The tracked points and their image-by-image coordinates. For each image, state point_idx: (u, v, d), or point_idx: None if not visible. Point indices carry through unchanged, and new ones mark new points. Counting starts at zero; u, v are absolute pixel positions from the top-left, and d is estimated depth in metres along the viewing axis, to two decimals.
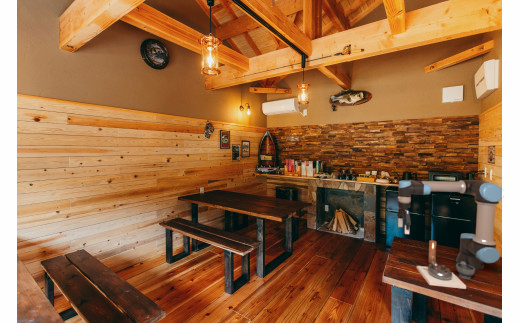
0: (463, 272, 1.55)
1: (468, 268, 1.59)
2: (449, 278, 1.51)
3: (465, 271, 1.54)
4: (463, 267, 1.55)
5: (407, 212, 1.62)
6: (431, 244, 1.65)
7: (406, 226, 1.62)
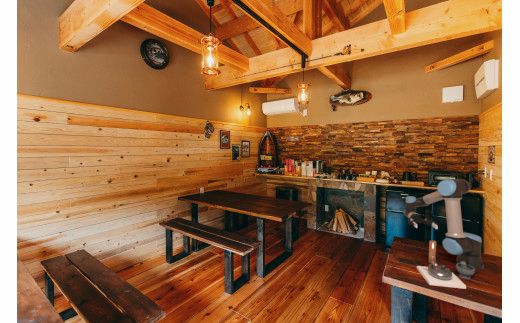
0: (463, 272, 1.55)
1: (468, 268, 1.59)
2: (449, 278, 1.51)
3: (465, 271, 1.54)
4: (463, 267, 1.55)
5: (408, 219, 1.92)
6: (431, 244, 1.65)
7: (412, 224, 1.83)
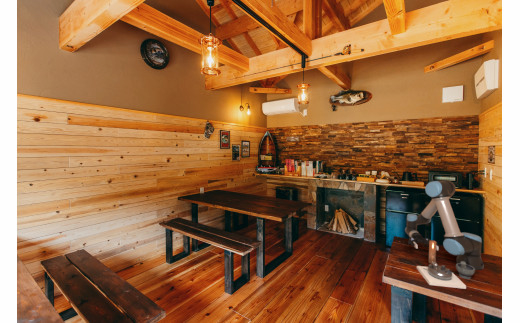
0: (463, 272, 1.55)
1: (468, 268, 1.60)
2: (449, 278, 1.51)
3: (465, 271, 1.54)
4: (463, 267, 1.55)
5: (409, 238, 1.90)
6: (431, 244, 1.65)
7: None
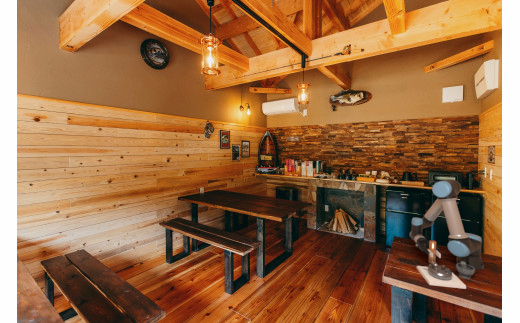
0: (463, 272, 1.55)
1: (468, 268, 1.60)
2: (449, 278, 1.51)
3: (465, 271, 1.54)
4: (463, 267, 1.55)
5: (416, 245, 1.78)
6: (431, 244, 1.65)
7: None
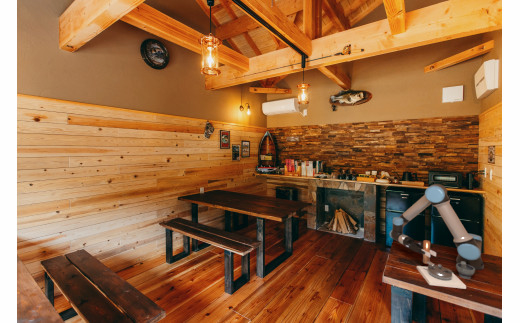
0: (463, 272, 1.55)
1: (468, 268, 1.60)
2: (451, 277, 1.52)
3: (465, 271, 1.54)
4: (463, 267, 1.55)
5: (407, 246, 1.77)
6: (426, 244, 1.65)
7: (421, 252, 1.67)
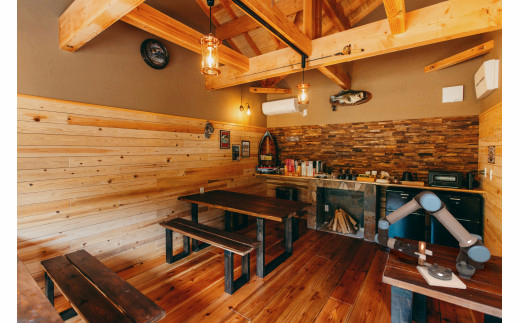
0: (463, 272, 1.55)
1: (468, 268, 1.60)
2: None
3: (465, 271, 1.54)
4: (463, 267, 1.55)
5: (400, 250, 1.71)
6: (423, 246, 1.63)
7: (415, 256, 1.63)
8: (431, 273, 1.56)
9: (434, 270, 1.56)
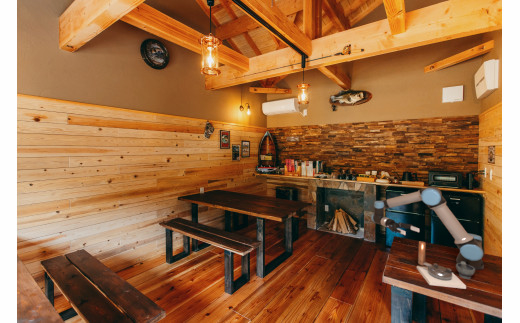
0: (463, 272, 1.55)
1: (468, 268, 1.60)
2: None
3: (465, 271, 1.54)
4: (463, 267, 1.55)
5: (387, 226, 1.83)
6: (423, 246, 1.63)
7: (397, 231, 1.74)
8: (431, 273, 1.56)
9: (434, 270, 1.56)
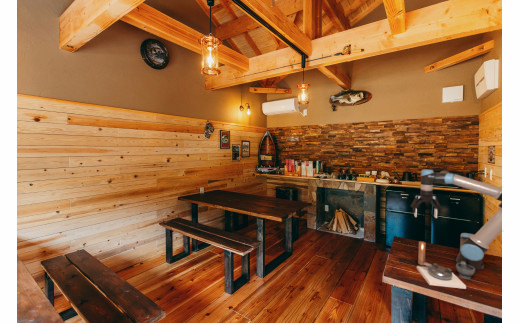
0: (463, 272, 1.55)
1: (468, 268, 1.60)
2: None
3: (465, 271, 1.54)
4: (463, 267, 1.55)
5: (415, 196, 1.78)
6: (423, 246, 1.63)
7: None
8: (431, 273, 1.56)
9: (434, 270, 1.56)
